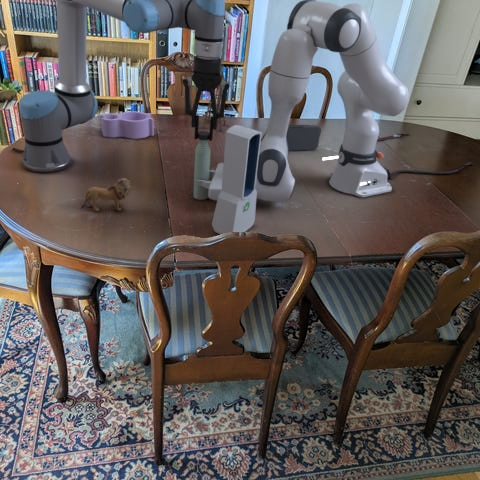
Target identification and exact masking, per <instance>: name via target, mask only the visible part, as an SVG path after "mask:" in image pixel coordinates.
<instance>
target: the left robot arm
mask: <svg viewBox="0 0 480 480" xmlns="http://www.w3.org/2000/svg"><path fill="white" fill-rule="evenodd" d="M55 2H56V26H57V28H56V29H57V61H58V62H57V63H58V65H57V66H58V79H57V80H56V81H55V82H54V83H53V88H54V89H53V90H54V91H51V90H34V91H31V92H28V93H25V94H24V95H22V97H21V98H20V99H19V103H18V105H19V116H20V119H21V125H22V132H23V137H24V148H23V149H18V148H16V147H12V151H15V152H16V153H22V158H21V161H22V166H23V168H24V169H25V170H27V171H29V172H33V173H39V174H46V173H56V172H61V171H63V170H66V169H67V168H69V167H70V166H71V163H72V159H71V155H70V153H69V151H68V150H67V149H68V148H67V147H66V145H65V143H64V140H63V132H62V131H63V130H66V129H68V128H72V127H75V126H77V125H84V124H85V123H87V122H89V121H91V120H92V119H94V117H96V115H97V112H98V105H99V104H98V99H97V97H96V94H95V92H94V91H93V90H92V88H91V85H90V84H88V82H87V8H90V9H92V10H94V11H97V12H99V13H101V14H103V15H106V16H109V17H111V18H113V19H116V20H118V21H121V22H122V23H125V25H126V27H128V28H129V30H130V31H132V32H133V33H137V34H150V33H152V32H157V31H163V30H171V29H177V28H179V29H186V30H190V31H194V45H193V54H194V55H195V56H193V72H192V74H191V76H189V77H187V76H186V77H184V78H183V79H182V84H183V87H184V109H185V111H184V112H185V114H186V115H189V116H190V117H191V122H190V123H191V125H190V126H191V128H194V140H198V138H197V135H198V132H199V125H200V115H199V114H197V113H198V110H199V105H200V100H201V97H202V92H207V93H209V98H210V97H211V103H210V105H212V109H211V114H212V115H213V116H210V119H209V120H210V121H209V133H210V136H209V140H208V142H212V141H213V137H214V130H217V128H218V122H217V121H218V120H219V118H221V119H223V116H224V117H225V110H226V109H225V108H226V101H227V94H228V91H229V89H230V86H231V82H230V81H225V79H224V80H222V79H223V77H222V75H221V66H222V64H221V63H222V62H221V61H222V58H221V56H222V57H223V43H224V41H223V40H224V39H223V36H224V27H225V26H224V25H225V16H226V10H225V9H226V4H225V3H226V0H55ZM192 83H193V84H194V86H195V87H196V93H195V98H194V103H193V107H192V104H191V85H192ZM219 84H221V90H222V91H221V92H222V99H220V105H221V106H220V112H219V111H218V110H217V109H218V106H217V99H216V98H217V96H216V95H217V94H216V89H218V88H217V87H218V85H219ZM215 94H216V95H215ZM191 107H192V108H191Z"/></svg>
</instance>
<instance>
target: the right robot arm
mask: <svg viewBox="0 0 480 480" xmlns="http://www.w3.org/2000/svg"><path fill="white" fill-rule="evenodd" d="M286 24H287V25H286V30H284V31H283V32H282V33H281V34H280V36H279V38H278V41H277V43H276V46H275V49H274V52H273V55H272V58H271V59H272V60H271V64H270V68H269V73H268V74H269V75H268V82H267V83H268V85H267V93H268V97H269V99H270V104H271V105H270V106H271V107H270V113H269V118H268V123H267V128H266V131H265V133H264V134H263V136H261V143H260V151H259V160H258V168H257V176H256V184H255V190H256V191H257V196H256V199H258V200H261V201H262V202H263V201H265V202H273V203H284V202H288V201H289V200H290V199H291V198H292V195H293V193H294V191H295V187H296V179H295V178H294V176H293V173H292V171H291V168H290V165H289V161H288V159H289V157H288V156H289V152H290V151H289V146H288V141H287V130H288V126H289V125H290V121H291V118H292V117H291V116H292V112H293V110H294V108H295V107H296V106H297V105H298V104H300V103H301V102H302V100H303V99H304V96H305V94H306V92H307V88H308V86H309V82H310V79H311V74H312V73H311V72H312V66H313V61H314V58H315V54H316V53H317V52H318V50H319V49H322V50H328V51H330V52H333V53H338V54H339V56H340V57H339V58H340V60H341V62H342V65H343V68H344V71H343V72H342V73H341V74H340V76H339V78H338V81H337V83H336V84H337V85H336V88H337V89H336V90H337V93H338V95H339V96H340V98H341V100H342V103H343V104H342V105H343V107H344V113H345V128H344V129H345V130H344V134H343V138H342V143H341V144H340V146H339V147H340V148H339V151H338V155H334V156H327V157H322V161H328V160H335V159H337V163H336V165H335V168H334V170H333V173H332V175H331V177H330V178H329V181H328V183H329V185H330V186H331V187H332V188H333V189H335V190H336V191H338V192H342V193H344V194H348V195H353V196H355V197H358V198H368V197H371V196H372V197H373V196H376V195H377V196H378V195H381V194H386V193H391V192H392V190H393V187H392V185H391V183H390V182H388V179H389V180H392V179H393V178H394V177H395V176H396V175H397V174H399V173H401V174H402V173H409V174H424V175H425V174H426V175H451V174H455V173H458V172H459V171H461V170H463V169H464V168H466V167H467V166H465V167H462V168H460V169H459V170H458V168H456V169H453V170H450V171H427V170H412V169H411V170H410V169H399V170H398V169H397V170H396V171H394V172H393V173H391V171H390V169H389V168H387V167H385V166H384V165H382V164H380V163H379V161H378V160H382V159H383V158H384V157H385V156H384V154H383V153H382V152H381V151H377V150H376V146H377V142H378V141H377V139H379V135H380V126H379V124H378V123H377V121H376V120H375V117H374V113H375V114H377V115H381V116H387V117H396V116H398V115H400V114H401V113H403V111H404V110H405V109H406V108H407V105H408V103H409V101H410V92H409V88H408V87H407V86H406V85H405V84H403V82H401V81H400V80H399V79H398V77H396V75H395V74H394V72H393V71H392V69H391V68H390V67H389V65H388V63H387V61H386V60H385V59H384V57H383V54H382V52H381V48H380V45H379V42H378V38H377V34H376V30H375V28H374V25H373V23H372V20H371V18H370V15H369V14H368V11H367V10H366V9H365V7H364V6H363V5H361V4H359V3H348V4H346V5H343V6H340V5H337V4H335V3H331V2H325V1H317V0H300V1H298V2H297V3H296V4H295V5H294V7H293V8H292V10H291V11H290V14H289V17H288V21H287V23H286ZM377 159H378V160H377ZM471 163H472V162H470V161H469V162H467V163H465V164H464V165H468V166H471V167H474V163H473V164H471ZM469 164H470V165H469ZM223 166H224V162H219V163H217V165H216V169H210V170H209V178H212V179H211V180H209V181H205V180H203V179H200V178H198V179H197V185H198V186H203V187H205V188H207V189H208V199H210V200H212V201H216V202H217V200H218V197H219V195H220V193H221V191H222V178H223Z"/></svg>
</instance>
